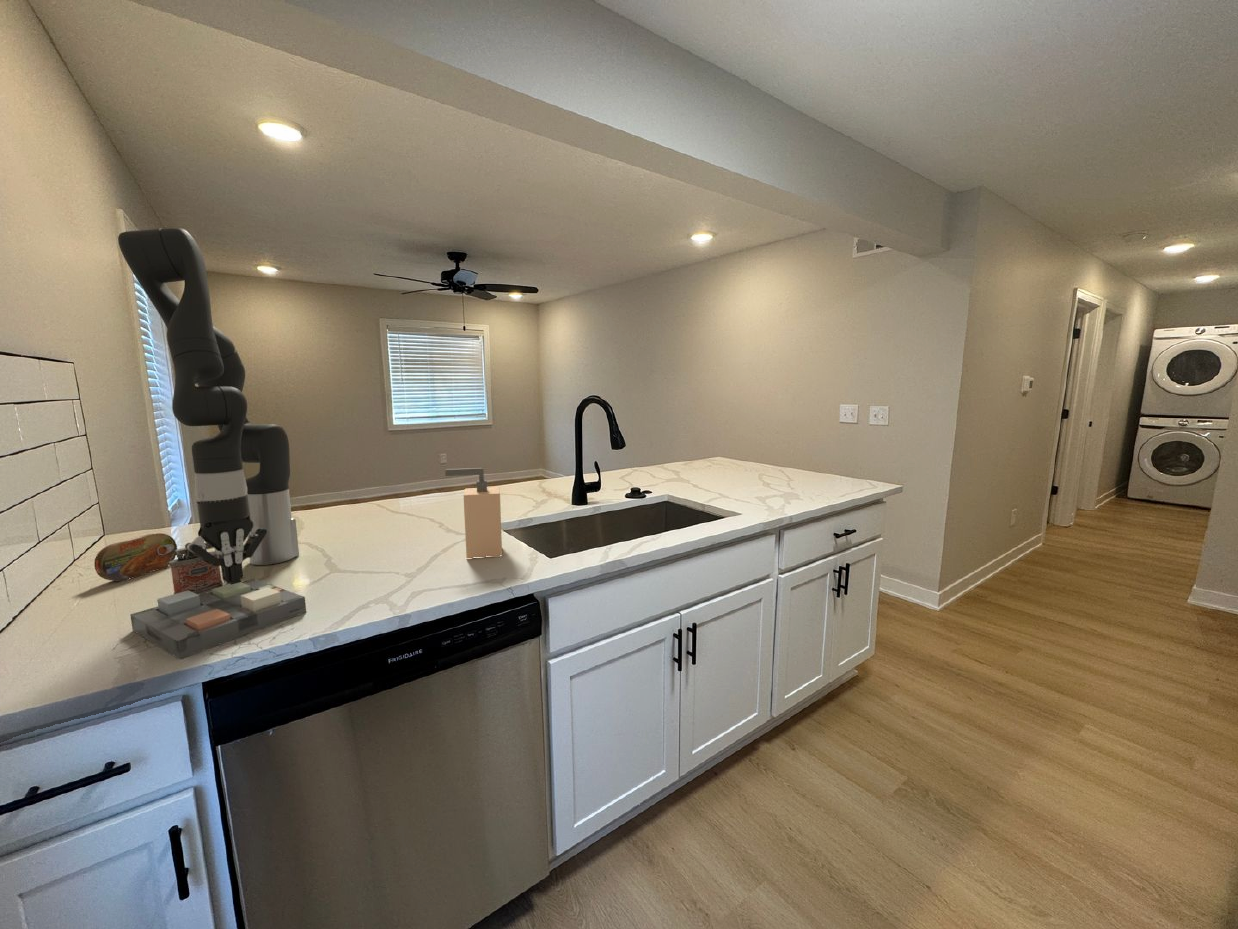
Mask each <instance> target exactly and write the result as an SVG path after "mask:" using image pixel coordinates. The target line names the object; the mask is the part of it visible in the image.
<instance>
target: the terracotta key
mask: <svg viewBox="0 0 1238 929" xmlns="http://www.w3.org/2000/svg"><path fill="white" fill-rule="evenodd" d="M229 620H230V614H228V613H226V612H224V611H221V610H219V609H215V610H212V611H209V612H206V613H202V614H199V615H196V616H193V617H190V618H187V619H186V623H187V627H189V628H191V629H193V630H195V631H199V630H202V629H205V628H208V627H211V626H214V625H217V624H220V623H223V622H226V621H229Z"/></svg>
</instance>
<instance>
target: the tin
mask: <svg viewBox="0 0 1238 929" xmlns="http://www.w3.org/2000/svg"><path fill="white" fill-rule="evenodd" d="M177 549H178V546H177V542H176V540H175V539H174V538H173V536H171V535H169V534H166V533H161V532H160V533H151V534H150V533H149V534H145V535H141V536H139V537H135V538H130V539H126V540H122V541H119V542H115V543H112V544H109V545H107V546H104V547H103V548H102V549H101V550H99V552H98V553H97V554H96V556H95V558H94V561H93V562H94V565H93V566H94V569H95V573H96V574H97V575H98V576H99V577H101V578H102V579H103V580H107V581H112V582H114V581H116V582H124V581H123V580H125V581H127V580H126V579H129V578H132V577H135V578H137V577H141V576H143V575H142V574H144V575H146V574H145V573H147V574H149V573H148V572H150V571H153V570H156V571H159V570H162V569H164V567H165V568H166V567H168V566H169V561H172V560H175V558H176V557H177V555H176V552H175V550H177ZM161 568H162V569H161ZM153 572H154V571H153ZM150 573H151V572H150ZM140 575H141V576H140ZM132 579H133V578H132ZM129 580H130V579H129Z"/></svg>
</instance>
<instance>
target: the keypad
mask: <svg viewBox="0 0 1238 929" xmlns="http://www.w3.org/2000/svg"><path fill="white" fill-rule="evenodd" d="M241 582H242V583H244V584H247V585H249V586H250V588H251V591H248V592H244V593H241V594H238V595H235V596H231V597H228V598H225V599H221V598H219V597H216V596H214V595H213V591H208V592H205V593H202V594H198V595H199V598H200V605H201V606H199V607H196V608H192V609H189V610H186V611H182V612H179V613H176V614H173V615H169V616H166V615H164V614H163V613H161V612H159V607H158V606H155V607H152V608H148V609H145V610H141V611H138V612H134V613H130V622H131V628H132V631H133V632H134V633H136V632H137V633H138V635H139V636H141V637H143V638H144V639H146V640H147V641H149V642H151V643H152V644H154V645H156V646H157V647H159V648H161V649H162V650H163V651H166V652H167V651H168V652H167V653H169V654H171V655H172V656H174V657H176V658H177V659H179V660H181V659H184V658H187V657H189V656H192V655H195V654H197V653H201V652H204V651H205V650H208V649H211V648H214V647H216V646H220V645H221V644H225V643H228V642H230V641H232V640H234V639H238V638H240V637H243V636H245V635H249V634H252V633H254V632H257V631H259V630H262V629H265V628H267V627H271V626H273V625H275V624H278V623H281V622H283V621H286V620H289V619H292V618H295V617H297V616H299V615H301V614H302V613H303V614H305V613H307V605H306V597H305V596H303V595H301V594H297V593H295V592H292V591H290V590H286V589H284V588H282V587H278V586H276V585H273V584H270V583H267V582H265V581H262V580H259V579H257V578H250V579H248V580H244V581H241ZM266 587H269V588H271V589H274V590H277V591H279V592H280V594H281V603H278V604H275V605H273V606H270V607H267V608H264V609H261V610H258V611H255V612H251V611H249V610H247V609H244V608H242V603H241V595H244V594H247V593H250V592H253V591H257V590H260V589H263V588H266ZM215 609H219V610H221V611H224V612H226V613H228V614H230V620H229V621H226V622H223V623H220V624H217V625H214V626H211V627H208V628H205V629H202V630H199V631H195V630H193V629H191V628H189V627H187V623H186V619H187V618H190V617H193V616H196V615H199V614H202V613H206V612H209V611H212V610H215ZM303 614H302V615H303ZM137 633H136V634H137Z"/></svg>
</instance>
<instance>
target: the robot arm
mask: <svg viewBox="0 0 1238 929" xmlns="http://www.w3.org/2000/svg"><path fill="white" fill-rule="evenodd" d="M117 240H118V247H119V249H120V251H121V254H122V256H123V259H124V260H125V262H126V264H127V266H128V267H129V269H130V270H131V272H132V274H133V275H134V277H135V279H136V280H137V282H138V283H139V286H141V288H142V289H143V291H144V293H145V294H146V295H147V297H148V299H149V300H150V302H151V304H152V305H153V306H154V308H155V309H156V312H157V313H158V314H159V316H160V318H161V320H162V321H163V323H164V325H165V326H166V328H167V331H166V340H167V345H168V349H169V352H170V356H171V359H172V364H173V368H174V389H173V390H174V392H173V396H172V397H173V398H172V404H171V408H172V413H173V416H174V417H175V419H177V421H178V422H180V423H181V424H183V425H185V426H186V427H208V426H210V427H211V426H217V427H218V430H219V433H218V434H217V435H214V436H212V437H208V438H202V439H199V440H197V441H194V442H193V443H192V446H191V455H192V456H191V457H192V463H193V471H194V491H195V500H196V505H197V506H196V507H197V514H198V521H199V529H198V531H197V535H198V536H197V537H196V538H195V539H193V541H191V542H188V543H186V544H185V545H184V548H186V549H187V550H189V551H190V552H192V553H193V554H195V555H196V556H198V557H199V558H201V559H202V560H204V561H205V562H207V563H208V564H211V565H214V566H220V571H221V579H222V581H223V582H225V583H227V585H228V584H231V585H232V584H236V583H239V582H242V581H241V579H243V578H244V572H243V569H244V568H243V562H244V560H247V559H249V563H250V565H254V566H269V565H275V564H280V563H284V562H286V561H290V560H292V559H294V558H295V557H298V556H300V549H299V547H300V546H299V541H298V540H299V539H298V530H297V529H298V528H297V519H295V517H292V507H291V499H290V498H291V497H290V489H289V486H290V485H289V482H290V478H291V463H290V462H291V461H290V441H289V437H288V434H287V432H286V431H285V429H284V428H283V426H280V425H278V424H275V423H274V424H273V423H272V424H271V423H270V424H269V423H251V422H250V421H249V419H248V418H247V415H248V414H247V413H248V400H247V398H246V397H245V394H244V393H243V390H244V386H245V380H246V369H245V366H244V363H243V361H242V359H241V357H240V355H239V353H238V351H237V349H236V347H235V344H234V343H233V341H232V340H231V339H230V338H229V336H227V335H226V334H225V333H223V331H221V330H220V329H218V328H217V327H215V326H214V325H213V324H214V323H213V319H212V317H213V316H212V307H211V299H210V297H211V296H210V289H209V280H208V275H207V266H206V263H205V261H204V260H205V259H204V257H203V254H202V250H201V248H200V247H199V245H198V243H197V242H196V240H195V239H194V237H193V236H192V235H191V234H190V233H189V232H188V231H187V230H186V229H185V228H181V227H165V228H164V227H163V228H153V229H139V230H129V231H123V232H121V233H119V235H118V238H117ZM183 281H184V287H183V291H182V295H181V298H180V299H179V298H178V297H177V296H176V295H175V294H174V292H172V290H171V288H170V287H168V285H167V283H174V282H175V283H176V282H177V283H178V282H183ZM243 463H248V464H253V463H254V464H259V471H258V473H257V474H255V475H253V476H251V477H248V478H246V476H245V472H244V468H243ZM246 539H247V540H246ZM206 542H207V543H208V544H209V545H210V546H212V547H213V548H212V549H214V551H215V552H216V554H217V556H218V558H216V557H214V556H213V555H212V554H210V553H209V552H210V551H206V550H207V549H206V550H204V549H205V548H206V545H205V544H204V543H206Z"/></svg>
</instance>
